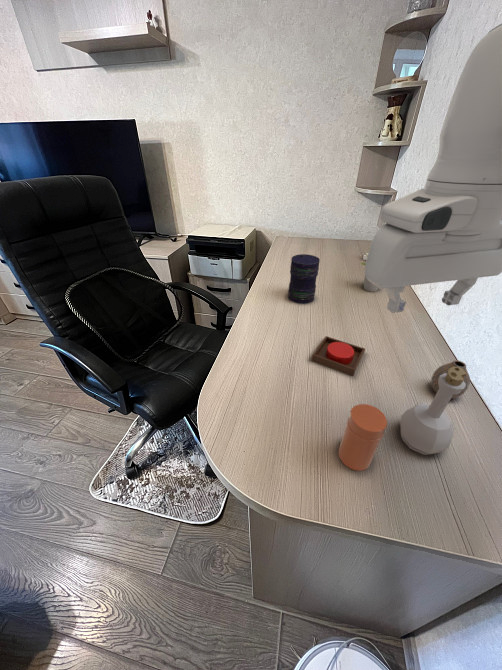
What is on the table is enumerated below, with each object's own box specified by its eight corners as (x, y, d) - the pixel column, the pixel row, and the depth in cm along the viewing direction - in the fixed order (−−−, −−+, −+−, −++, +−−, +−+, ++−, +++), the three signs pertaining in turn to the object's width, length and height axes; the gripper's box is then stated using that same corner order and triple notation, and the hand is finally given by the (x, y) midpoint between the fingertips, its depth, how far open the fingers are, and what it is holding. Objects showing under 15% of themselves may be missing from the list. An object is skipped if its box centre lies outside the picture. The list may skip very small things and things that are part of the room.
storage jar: (319, 301, 102) (325, 262, 93) (295, 306, 99) (299, 265, 90) (306, 290, 109) (310, 252, 101) (283, 294, 107) (286, 256, 98)
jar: (374, 451, 53) (391, 413, 46) (365, 477, 49) (383, 438, 42) (344, 437, 55) (356, 398, 49) (333, 459, 51) (345, 421, 45)
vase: (422, 380, 68) (436, 352, 63) (452, 382, 67) (468, 355, 62) (433, 401, 63) (449, 373, 58) (466, 404, 62) (485, 376, 57)
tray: (363, 354, 76) (365, 348, 75) (353, 376, 69) (355, 370, 68) (324, 341, 81) (325, 335, 80) (311, 360, 74) (312, 354, 73)
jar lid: (321, 357, 74) (322, 350, 73) (333, 345, 79) (334, 338, 77) (345, 369, 71) (347, 361, 69) (356, 355, 75) (358, 348, 74)
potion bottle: (449, 437, 55) (495, 370, 45) (436, 469, 50) (485, 401, 39) (403, 413, 60) (435, 347, 50) (387, 439, 55) (419, 372, 44)
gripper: (505, 199, 38) (463, 291, 46) (370, 207, 35) (350, 305, 43) (555, 207, 33) (499, 308, 41) (403, 217, 30) (373, 326, 38)
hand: (422, 307), depth 42 cm, fingers open, 8 cm apart
